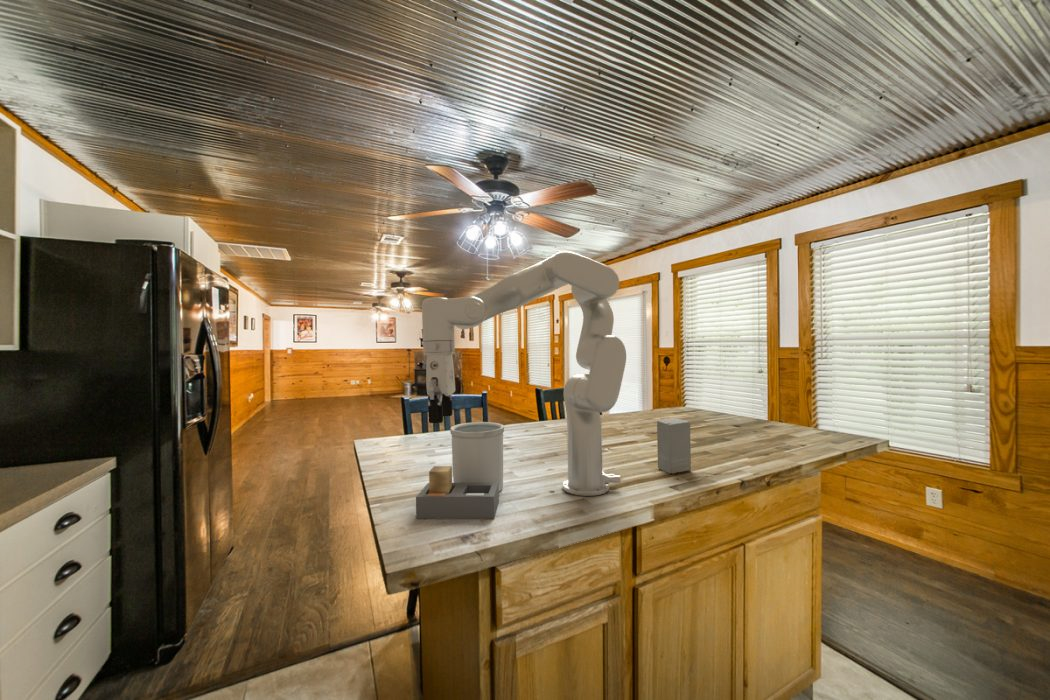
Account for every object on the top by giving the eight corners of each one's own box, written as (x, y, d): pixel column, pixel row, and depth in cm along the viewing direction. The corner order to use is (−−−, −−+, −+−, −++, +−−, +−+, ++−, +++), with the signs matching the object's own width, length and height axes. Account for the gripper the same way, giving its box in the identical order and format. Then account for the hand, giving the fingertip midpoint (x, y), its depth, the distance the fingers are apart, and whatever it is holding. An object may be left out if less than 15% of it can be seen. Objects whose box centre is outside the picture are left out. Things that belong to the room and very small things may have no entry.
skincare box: (677, 465, 130) (676, 417, 130) (693, 471, 123) (692, 420, 123) (655, 468, 127) (654, 419, 127) (670, 474, 120) (669, 422, 120)
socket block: (498, 502, 100) (498, 481, 100) (494, 518, 90) (493, 495, 90) (428, 502, 101) (428, 482, 101) (416, 518, 91) (415, 496, 91)
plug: (452, 506, 98) (451, 466, 98) (448, 513, 93) (448, 471, 93) (434, 506, 98) (433, 466, 98) (429, 514, 93) (429, 471, 93)
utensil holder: (497, 500, 101) (495, 432, 102) (442, 497, 104) (441, 430, 105) (510, 482, 116) (509, 422, 116) (462, 479, 119) (461, 421, 119)
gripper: (445, 347, 87) (448, 425, 87) (461, 348, 105) (463, 413, 104) (412, 349, 88) (414, 426, 87) (433, 349, 105) (435, 414, 105)
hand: (441, 419), depth 96 cm, fingers open, 9 cm apart
